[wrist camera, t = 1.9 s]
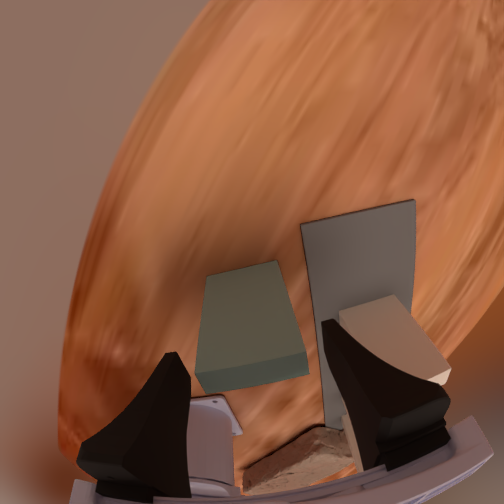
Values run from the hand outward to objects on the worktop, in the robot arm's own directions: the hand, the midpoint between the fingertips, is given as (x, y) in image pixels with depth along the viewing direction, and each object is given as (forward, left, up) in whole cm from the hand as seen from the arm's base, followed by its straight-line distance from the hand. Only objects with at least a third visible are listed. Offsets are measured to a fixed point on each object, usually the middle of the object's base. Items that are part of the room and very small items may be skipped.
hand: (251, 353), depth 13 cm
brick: (0, -30, -8) cm, 31 cm away
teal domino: (0, 0, -8) cm, 8 cm away
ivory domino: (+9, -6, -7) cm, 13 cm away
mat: (+9, -11, -8) cm, 16 cm away
